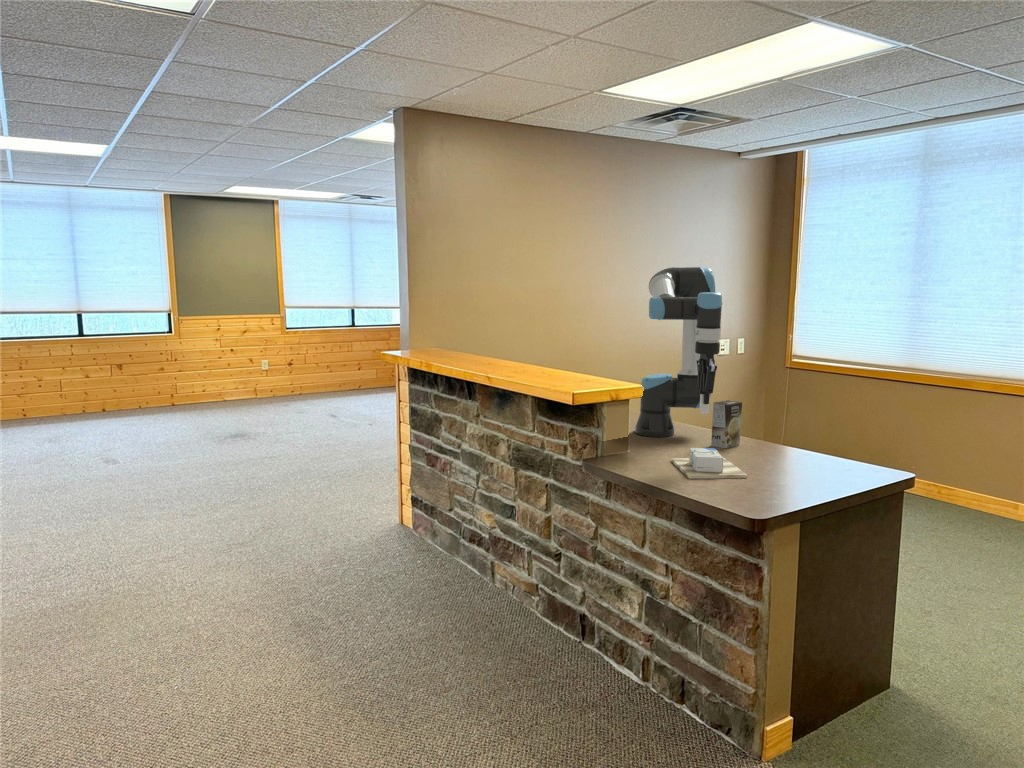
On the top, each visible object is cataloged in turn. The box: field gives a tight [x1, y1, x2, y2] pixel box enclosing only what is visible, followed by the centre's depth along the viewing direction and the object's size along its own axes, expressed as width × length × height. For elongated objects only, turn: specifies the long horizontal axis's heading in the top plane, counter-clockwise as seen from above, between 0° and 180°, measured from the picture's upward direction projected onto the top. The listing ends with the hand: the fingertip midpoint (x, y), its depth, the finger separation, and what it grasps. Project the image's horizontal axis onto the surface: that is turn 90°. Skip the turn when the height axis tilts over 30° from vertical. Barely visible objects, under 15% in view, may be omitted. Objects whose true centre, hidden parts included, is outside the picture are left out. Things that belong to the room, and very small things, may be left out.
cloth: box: [670, 457, 748, 480], centre depth 220 cm, size 20×18×1 cm
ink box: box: [688, 447, 724, 473], centre depth 219 cm, size 9×5×12 cm
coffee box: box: [710, 400, 743, 449], centre depth 250 cm, size 9×6×16 cm
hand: (704, 413), depth 223 cm, fingers closed
